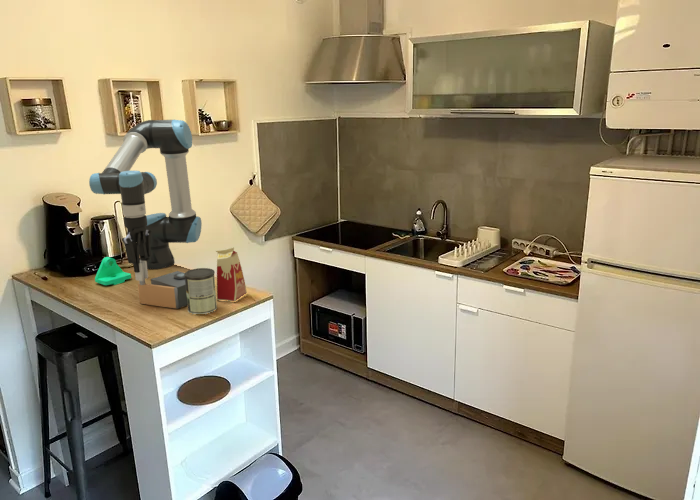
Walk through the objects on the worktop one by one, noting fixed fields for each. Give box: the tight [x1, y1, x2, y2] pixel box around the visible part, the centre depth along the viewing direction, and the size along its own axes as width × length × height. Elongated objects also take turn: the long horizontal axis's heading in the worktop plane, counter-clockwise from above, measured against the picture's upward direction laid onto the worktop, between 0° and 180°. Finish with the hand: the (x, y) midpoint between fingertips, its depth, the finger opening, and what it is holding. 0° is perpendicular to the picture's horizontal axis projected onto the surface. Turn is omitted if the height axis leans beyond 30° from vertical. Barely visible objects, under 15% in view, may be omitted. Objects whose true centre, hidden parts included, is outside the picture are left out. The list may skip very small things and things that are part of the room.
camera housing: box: [150, 270, 188, 309], centre depth 201 cm, size 12×16×9 cm
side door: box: [137, 262, 180, 310], centre depth 193 cm, size 2×17×16 cm, turn 71°
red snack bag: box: [215, 247, 248, 301], centre depth 201 cm, size 9×9×20 cm
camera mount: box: [94, 256, 132, 286], centre depth 221 cm, size 12×8×10 cm, turn 145°
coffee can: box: [183, 267, 218, 315], centre depth 190 cm, size 10×10×14 cm
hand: (142, 279), depth 194 cm, fingers closed on side door, 2 cm apart
